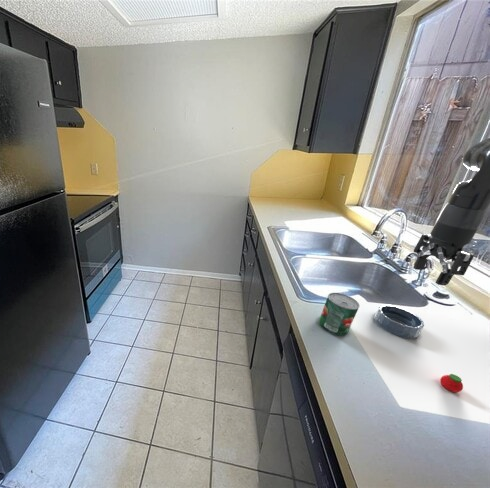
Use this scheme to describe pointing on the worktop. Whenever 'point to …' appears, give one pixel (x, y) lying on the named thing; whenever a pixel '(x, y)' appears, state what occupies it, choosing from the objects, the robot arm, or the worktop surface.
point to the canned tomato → (338, 313)
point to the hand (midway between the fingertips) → (428, 276)
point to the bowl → (401, 315)
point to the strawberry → (451, 383)
